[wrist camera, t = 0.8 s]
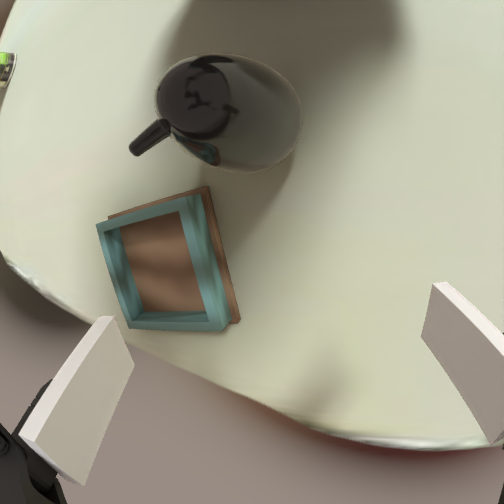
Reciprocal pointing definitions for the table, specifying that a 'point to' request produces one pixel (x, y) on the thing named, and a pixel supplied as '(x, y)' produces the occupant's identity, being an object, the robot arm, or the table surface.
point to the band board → (170, 265)
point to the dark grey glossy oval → (225, 113)
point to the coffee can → (6, 67)
